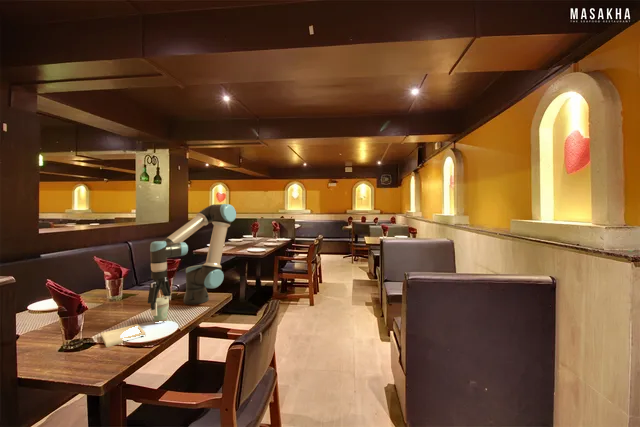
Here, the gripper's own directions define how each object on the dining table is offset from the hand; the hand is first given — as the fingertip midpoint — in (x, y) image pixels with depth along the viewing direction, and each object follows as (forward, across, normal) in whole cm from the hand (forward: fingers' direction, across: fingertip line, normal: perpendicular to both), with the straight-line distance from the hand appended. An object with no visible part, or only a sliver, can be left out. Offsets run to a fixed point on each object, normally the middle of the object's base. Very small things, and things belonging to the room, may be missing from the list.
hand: (160, 311), depth 153 cm
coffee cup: (+6, 0, 0) cm, 6 cm away
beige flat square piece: (+5, +18, -8) cm, 20 cm away
